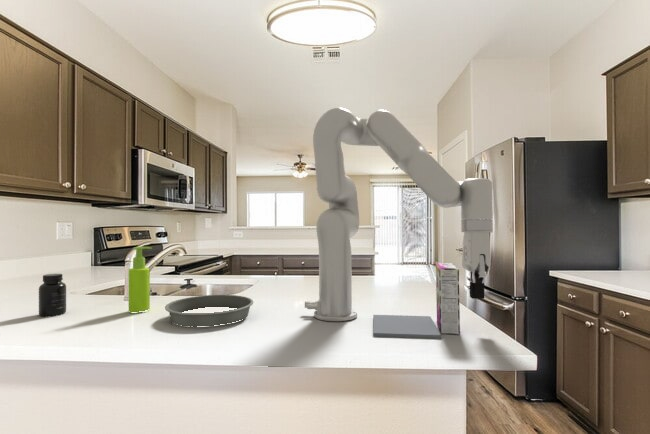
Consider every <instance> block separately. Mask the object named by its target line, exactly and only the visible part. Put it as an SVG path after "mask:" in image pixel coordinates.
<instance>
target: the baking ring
mask: <svg viewBox="0 0 650 434" xmlns="http://www.w3.org/2000/svg"><path fill="white" fill-rule="evenodd" d="M253 304H254V300H253V299H252V298H250V297H247V296H243V295H236V294H235V295H234V294H208V295H206V294H205V295H199V296H190V297H185V298H184V297H183V298H181V299H176V300H173V301H170V302H169V303H167V304H166V305H165V307H164V308H165V309H164V310H165V311H166V312H168V313H169V316H170V321H171V323H172V322H173V323H175V324H178V325H182V326H181V327H183V326H190V327H189V328H196V327H197V326H214V325H220V324H227V323H232V322H236V321H239V320H242V319H244V318H246V317H247V316H249V313H250V307H251V306H253ZM205 307H229V308H237V309H234V310H229V311H223V312H214V313H182V312H184V311H188V310H193V309H198V308H205ZM247 318H248V317H247ZM247 318H246V319H247ZM244 320H245V319H244ZM242 321H243V320H242ZM173 323H172V324H173ZM175 324H174V325H175ZM178 325H177V326H178ZM191 326H193V327H191Z"/></svg>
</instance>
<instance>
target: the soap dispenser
mask: <svg viewBox="0 0 650 434" xmlns="http://www.w3.org/2000/svg"><path fill="white" fill-rule="evenodd" d="M132 249H133V250H135V253H136V255H135V257H133V259H132V265H133V266H132V268H130V269H128V312H129V311H130V312H139V311H145V310H148V309H150V308H151V306H150V305H151V304H150V300H151V299H150V298H151V297H150V296H151V295H150V289H151V288H150V279H151V278H150V277H151V273H150V271H151V270H150V268H149V267H146V258H145V257H144V256H143V250H145V249H146V250H147V249H148V250H152V249H153V247H151V246H135V247H133V248H132Z"/></svg>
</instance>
